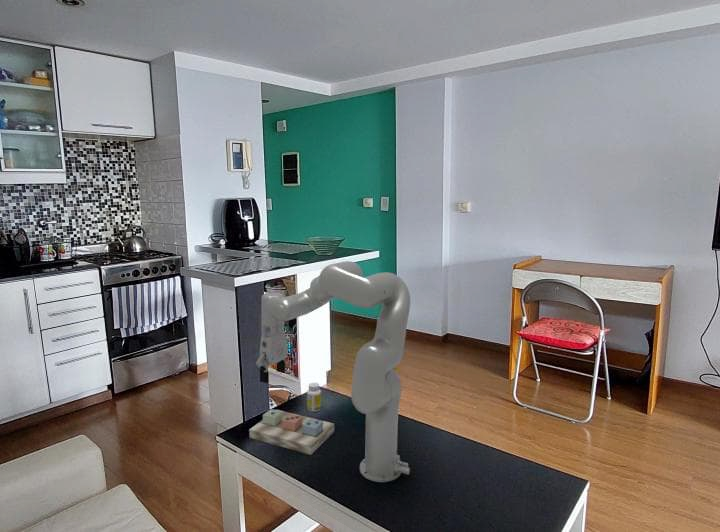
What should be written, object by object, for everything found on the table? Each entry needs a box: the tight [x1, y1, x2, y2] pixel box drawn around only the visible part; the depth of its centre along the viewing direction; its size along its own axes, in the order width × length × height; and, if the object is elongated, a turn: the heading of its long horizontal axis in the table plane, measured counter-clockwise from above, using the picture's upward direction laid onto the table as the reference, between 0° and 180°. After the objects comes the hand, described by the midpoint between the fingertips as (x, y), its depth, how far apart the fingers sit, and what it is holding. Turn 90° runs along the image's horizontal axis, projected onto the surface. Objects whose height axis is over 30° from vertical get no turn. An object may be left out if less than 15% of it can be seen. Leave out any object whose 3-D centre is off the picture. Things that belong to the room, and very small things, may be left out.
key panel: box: [248, 409, 335, 456], centre depth 158 cm, size 24×16×3 cm, turn 66°
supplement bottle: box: [306, 382, 322, 413], centre depth 176 cm, size 5×5×10 cm
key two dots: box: [302, 418, 323, 437], centre depth 154 cm, size 5×5×3 cm
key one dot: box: [262, 408, 283, 426], centre depth 160 cm, size 5×5×3 cm
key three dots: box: [282, 413, 303, 431], centre depth 157 cm, size 5×5×3 cm
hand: (272, 376), depth 158 cm, fingers open, 9 cm apart
